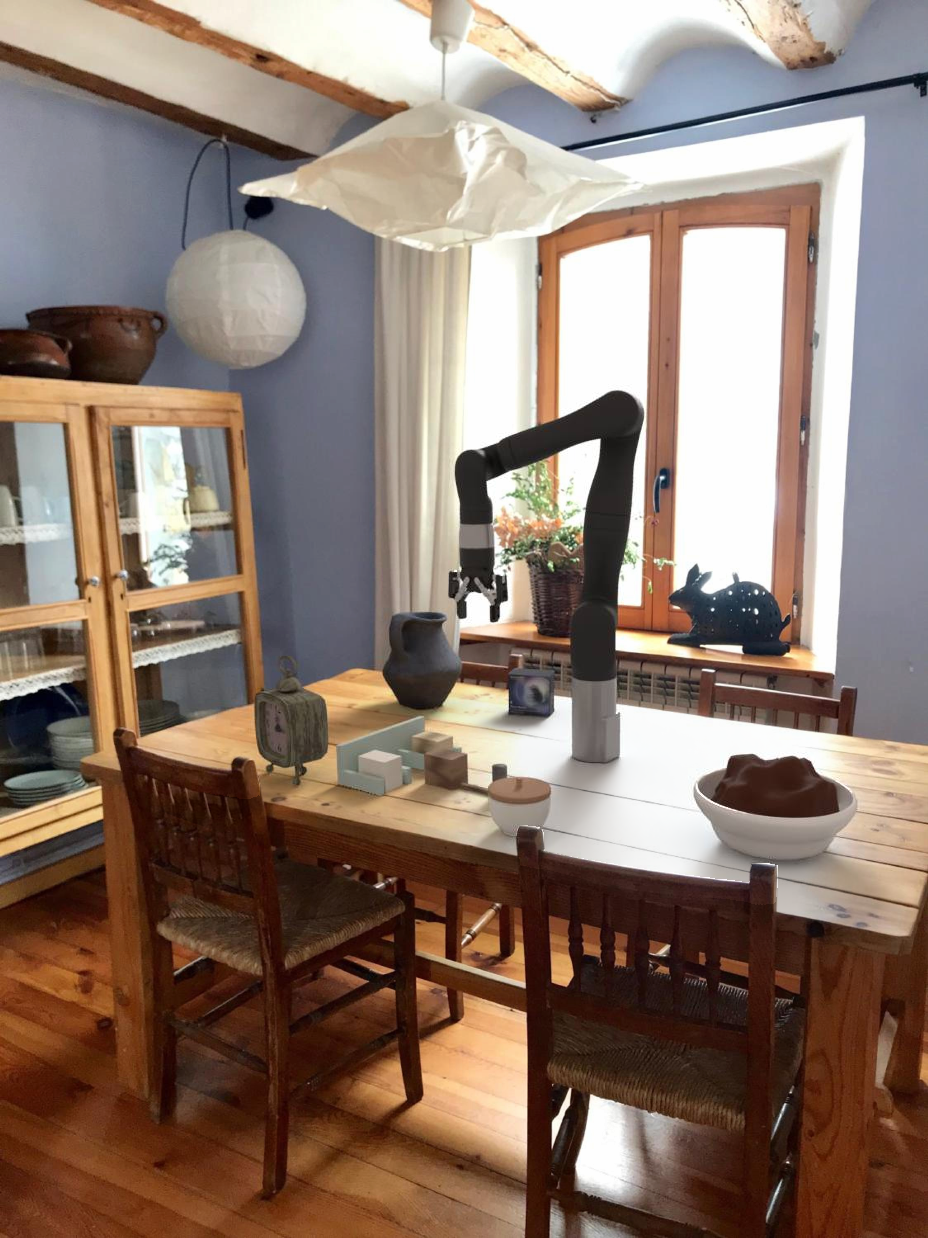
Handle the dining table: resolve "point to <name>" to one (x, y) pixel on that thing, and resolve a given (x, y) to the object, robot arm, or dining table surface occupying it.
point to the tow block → (454, 770)
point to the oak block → (431, 742)
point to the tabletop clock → (290, 724)
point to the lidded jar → (519, 803)
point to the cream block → (382, 767)
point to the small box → (531, 692)
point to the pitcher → (420, 660)
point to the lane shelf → (383, 740)
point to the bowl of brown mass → (774, 806)
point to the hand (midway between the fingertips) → (478, 620)
